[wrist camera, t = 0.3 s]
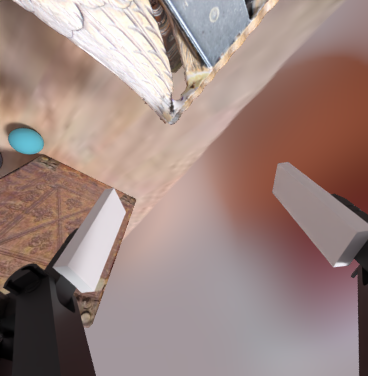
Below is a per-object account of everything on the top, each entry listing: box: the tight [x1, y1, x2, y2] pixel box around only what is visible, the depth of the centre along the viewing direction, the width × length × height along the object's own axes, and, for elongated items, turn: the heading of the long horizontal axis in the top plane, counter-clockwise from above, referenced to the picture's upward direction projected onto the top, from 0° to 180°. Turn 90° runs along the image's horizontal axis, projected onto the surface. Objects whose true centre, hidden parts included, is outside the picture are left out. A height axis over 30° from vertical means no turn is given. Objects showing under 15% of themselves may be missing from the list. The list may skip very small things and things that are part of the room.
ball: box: [8, 128, 44, 154], centre depth 35 cm, size 6×6×6 cm
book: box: [0, 155, 136, 328], centre depth 34 cm, size 25×9×30 cm, turn 54°
